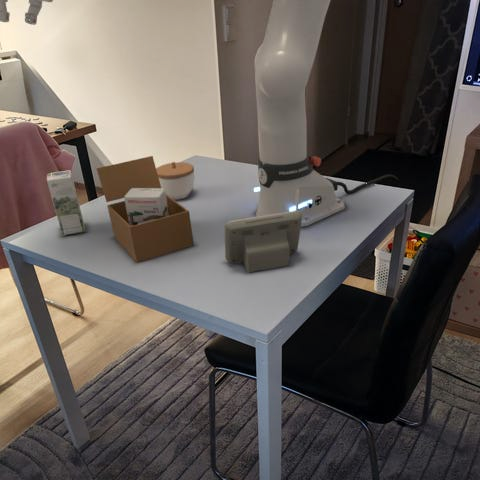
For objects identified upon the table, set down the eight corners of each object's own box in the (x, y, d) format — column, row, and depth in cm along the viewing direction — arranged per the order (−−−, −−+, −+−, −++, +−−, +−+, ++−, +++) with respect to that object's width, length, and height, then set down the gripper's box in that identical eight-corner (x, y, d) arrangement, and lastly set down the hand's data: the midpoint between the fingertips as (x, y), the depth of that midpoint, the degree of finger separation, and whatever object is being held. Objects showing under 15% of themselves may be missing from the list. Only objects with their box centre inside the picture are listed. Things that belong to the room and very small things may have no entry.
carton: (114, 238, 127) (107, 205, 123) (167, 223, 133) (161, 191, 128) (137, 262, 116) (129, 227, 111) (193, 245, 121) (189, 211, 116)
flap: (106, 202, 122) (106, 202, 123) (161, 188, 127) (161, 188, 128) (96, 168, 120) (96, 168, 121) (152, 155, 125) (152, 156, 126)
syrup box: (84, 224, 136) (70, 168, 128) (85, 232, 131) (71, 175, 123) (62, 228, 135) (46, 172, 127) (62, 237, 130) (46, 179, 122)
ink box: (131, 244, 123) (121, 196, 116) (138, 235, 127) (129, 188, 120) (167, 245, 121) (159, 195, 115) (173, 235, 125) (165, 187, 119)
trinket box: (151, 196, 149) (145, 163, 144) (182, 186, 155) (178, 154, 149) (173, 206, 142) (167, 171, 137) (204, 194, 148) (200, 161, 142)
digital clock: (299, 249, 116) (299, 203, 110) (304, 268, 108) (304, 220, 102) (226, 254, 116) (221, 208, 110) (226, 274, 108) (221, 226, 102)
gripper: (5, -66, 87) (-1, 25, 94) (66, -46, 105) (57, 30, 112) (-30, -79, 88) (-33, 13, 94) (37, -56, 106) (30, 20, 112)
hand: (16, 22), depth 103 cm, fingers open, 8 cm apart
